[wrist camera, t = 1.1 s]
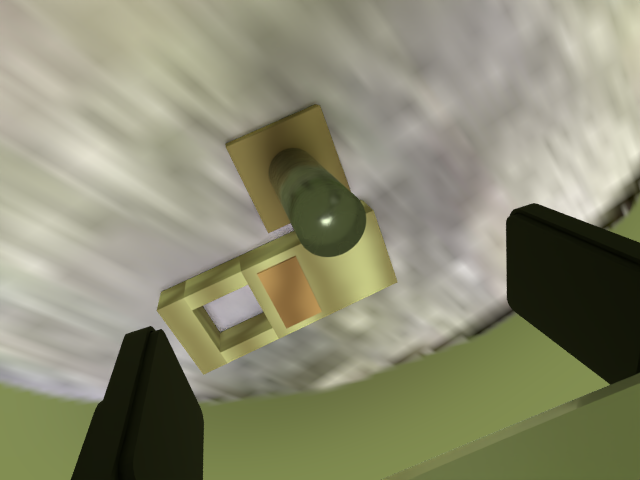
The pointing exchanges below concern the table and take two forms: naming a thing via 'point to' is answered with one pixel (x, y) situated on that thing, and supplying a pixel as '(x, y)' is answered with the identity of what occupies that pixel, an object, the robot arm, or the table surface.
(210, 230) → the table surface
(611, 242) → the robot arm
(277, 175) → the peg
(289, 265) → the block with square hole
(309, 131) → the tab
